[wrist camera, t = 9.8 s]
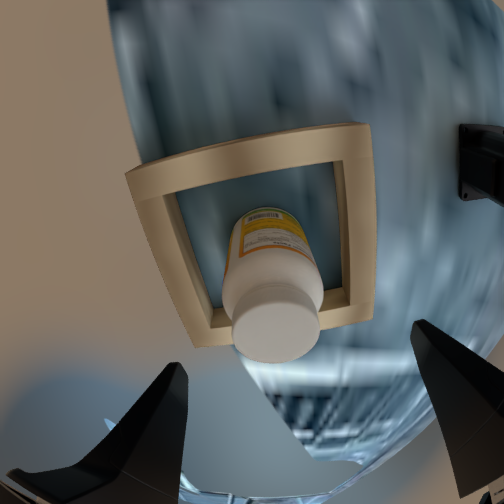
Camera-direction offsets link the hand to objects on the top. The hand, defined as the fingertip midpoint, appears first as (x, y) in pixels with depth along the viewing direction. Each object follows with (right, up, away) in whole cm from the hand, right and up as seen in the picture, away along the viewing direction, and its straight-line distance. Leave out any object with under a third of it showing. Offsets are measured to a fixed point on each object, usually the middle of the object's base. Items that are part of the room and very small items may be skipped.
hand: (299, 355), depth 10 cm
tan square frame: (-1, +5, +11) cm, 12 cm away
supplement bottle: (-1, +5, +11) cm, 12 cm away
